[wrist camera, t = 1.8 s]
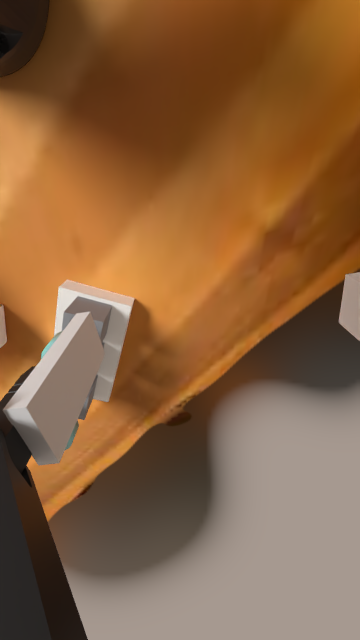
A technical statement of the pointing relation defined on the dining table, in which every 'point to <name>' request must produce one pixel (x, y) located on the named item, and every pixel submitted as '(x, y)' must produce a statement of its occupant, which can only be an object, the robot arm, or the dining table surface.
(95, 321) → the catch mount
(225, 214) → the dining table surface
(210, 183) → the dining table surface
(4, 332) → the medicine bottle
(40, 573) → the robot arm
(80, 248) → the dining table surface
